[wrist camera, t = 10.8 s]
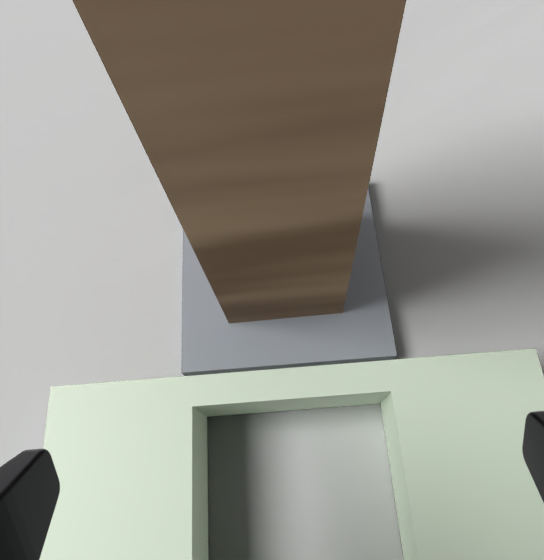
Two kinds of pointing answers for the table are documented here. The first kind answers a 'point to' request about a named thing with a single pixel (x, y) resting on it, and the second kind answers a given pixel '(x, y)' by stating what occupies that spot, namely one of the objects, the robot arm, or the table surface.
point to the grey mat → (289, 322)
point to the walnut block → (257, 133)
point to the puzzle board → (296, 396)
